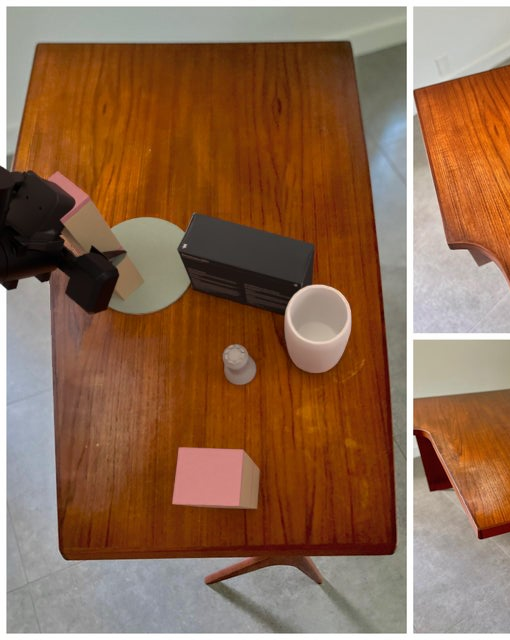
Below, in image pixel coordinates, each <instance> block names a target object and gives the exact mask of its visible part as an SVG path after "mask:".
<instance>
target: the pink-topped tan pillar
mask: <svg viewBox="0 0 510 640" xmlns="http://www.w3.org/2000/svg"><path fill="white" fill-rule="evenodd" d="M46 180H49V181H52V182H54V183H56V184H57V185H58V186H60V187H61V188H62V189H63V190H65V191H66V192H67V193H68V194H70V195H71V196H72V197H73V198H74V199H75V201H76V204H75V206H74V208H73V209H72V210H71V211H70V212H69V213H67V214H66V215H65V216H64V217H63V218H62V219H60V221H61V222H62V223H63V224H64V226H65V228H64V229H63V231H62V232H61V233H62V235H61V236H63V237H64V239H66V241H67V242H68V244H70V246H71V247H72V248H73V249H74V250H75V251H76V253H77V254H78V256H80V255H83V254H86V253H89V252H90V249H91V246H92V245H93V246H94V247H95V248H97V249H98V250H99V251H100V252H106V251H114V250H124V249H123V247H122V246H121V244H120V243H119V241H118V240H117V238H116V237H115V235H114V234H113V232H112V231H111V228H110V226H109V224H108V222H107V221H106V220H105V218H104V217H103V215H102V213H101V212H100V211H99V209H98V207H97V206H96V205H95V203H94V202H93V200H92V198H91V196H90V195H88V193H86V192H85V191H84V190H82V189H81V188H80V187H79V186H77V185H76V184H75V183H74V182H73V181H71V180H70V179H69V178H67V177H66V176H64V174H62V173H61V172H60V171H59V170H57V171H55V172H54V173H53V174H52V175H50V177H48V178H47V179H46ZM116 268H118V272H119V275H120V276H119V278H118V281H117V284H116V286H115V289H114V292H115V293H116V294H118V295H119V296H120V297H121V298H122V299H124V300H126V299H127V298H128V297H129V296H130V295H131V294H132V293H133V292H134V291H135V290H136V289H137V288H139V287H140V286H141V285H142V284H143V283H144V282H145V281H144V280H143V278H142V276H141V275H140V273H139V272H138V270H137V269H136V267H135V266H134V264H133V263H132V261H131V260H130V258H129V257H128V255H127V254H126V256H125V258H124V259H123V260H122V261H121V262H120V263H119V264H118V265H117V266H116Z"/></svg>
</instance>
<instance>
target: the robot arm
mask: <svg viewBox="0 0 510 640" xmlns="http://www.w3.org/2000/svg"><path fill="white" fill-rule="evenodd" d="M75 204H76V201H75V199H74V198H73V197H72V196H71V195H70V194H68V193H67V192H66V191H65V190H63V189H62V188H61V187H60V186H58V185H57V184H56V183H54V182H52V181H49V180H47V179H46V178H43V177H41V176H40V175H38V173H36V172H35V171H34V170H32V169H29V170H27V171H25V170H24V171H23V172H22V171H18V170H15V171H10V170H9V169H7V168H5V167H3V165H0V285H1V286H2V287H3V288H4V289H5V290H6V291H8V292H9V291H13V290H17V289H18V285H19V281H20V280H24V279H25V280H26V279H28V278H33V277H34V278H35V279H36V280H38V281H39V282H40V283H41V284H43V283H47V282H50V279H51V276H52V273H53V272H56V271H57V270H60V271H61V273H63V274H65V275H66V276H67V277H68V278H69V279H68V282H67V284H66V288H65V291H64V294H65V295H66V296H67V297H68V298H69V299H70V300H72V301H73V302H74V303H75V304H76V305H77V306H78V307H79V308H81V309H82V310H83V311H84V312H86V314H88V315H89V316H90V315H95V314H100V313H102V312H106V311H107V310H108V308H109V307H108V305H109V302H110V300H111V297H112V294H113V292H114V289H115V286H116V284H117V281H118V278H119V276H120V275H119V272H118V268H116V266H117V265H118V264H119V263H120V262H121V261H122V260H123V259H124V258H125V256H126V254H127V251H125V250H114V251H106V252H100V251H99V250H98V249H97V248H95V247H94V246H93V245H92V246H91V249H90V252H89V253H86V254H83V255H77V254H75V252H74V251H72V250H71V249H70V248H69V247H67V246H66V245H65V241H66V240H65V238H63V237H61V236H63V235H62V233H61V232H62V231H63V229H64V228H65V226H64V224H63V223H62V222H61V221H60V219H62V218H63V217H64V216H65V215H66V214H67V213H69V212H70V211H71V210H72V209H73V208H74V206H75Z"/></svg>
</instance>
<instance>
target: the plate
mask: <svg viewBox="0 0 510 640" xmlns="http://www.w3.org/2000/svg"><path fill="white" fill-rule="evenodd" d="M110 229H111V231H112V232H113V234H114V235H115V237H116V238H117V240H118V241H119V243H120V244H121V246H122V247H123V249H124V250H125V251H127V255H128V257H129V258H130V260H131V261H132V263H133V264H134V266H135V267H136V269H137V270H138V272H139V273H140V275H141V276H142V278H143V280H144V281H145V282H144V283H143V284H142V285H141V286H140V287H139V288H137V289H136V290H135V291H134V292H133V293H132V294H131V295H130V296H129V297H128V298H127V299H126V300H124V299H122V298H121V297H120V296H119V295H118V294H116V293H115V292H113V294H112V297H111V300H110V302H109V305H108V308H110V309H111V310H113V311H116V312H118V313H121V314H125V315H133V316H143V315H149V314H154V313H157V312H160V311H162V310H164V309H166V308H169V307H170V306H172V305H173V304H175V303H176V302H177V301H179V300H180V299H181V298H182V297H183V296H184V295H185V294H186V292H187V291H188V290H189V288H190V286H192V284H191V282H190V279H189V277H188V274H187V272H186V269H185V267H184V264H183V262H182V260H181V257H180V255H179V253H178V251H177V248H178V246H179V244H180V242H181V240H182V238H183V236H184V234H185V231H184V230H183V229H182V228H180V227H179V226H178V225H177V224H174V223H172V222H170V221H168V220H165V219H163V218H158V217H153V216H152V217H151V216H150V217H149V216H143V217H142V216H141V217H135V218H131V219H127V220H124V221H122V222H119V223H117V224H116V225H114V226H112V227H111V228H110Z"/></svg>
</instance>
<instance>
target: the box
mask: <svg viewBox="0 0 510 640" xmlns="http://www.w3.org/2000/svg"><path fill="white" fill-rule="evenodd" d="M184 233H185V234H184V236H183V238H182V240H181V242H180V244H179V246H178V248H177V251H178V253H179V255H180V257H181V260H182V262H183V264H184V267H185V269H186V272H187V274H188V277H189V279H190V282H191V287H192V290H194V291H197V292H199V293H203V294H207V295H210V296H215V297H218V298H222V299H224V300H225V299H226V300H229V301H232V302H236V303H240V304H243V305H246V306H250V307H254V308H257V309H261V310H265V311H268V312H272V313H276V314H280V315H283V316H285V312H286V308H287V305H288V303H289V301H290V299H291V298H292V297H293V295H294V294H295V293H297V292H298V291H299V290H300V289H302V288H304V287H306V286H310V285H314V284H313V282H314V265H315V249H316V244H315V243H312V242H308V241H304V240H300V239H296V238H293V237H288V236H285V235H281V234H277V233H273V232H271V231H266V230H263V229H259V228H255V227H251V226H248V225H243V224H240V223H237V222H232V221H229V220H226V219H225V220H224V219H221V218H217V217H213V216H211V215H210V216H209V215H206V214H202V213H198V212H193V213H192V215H191V217H190V220H189V222H188V225H187V228H186V230H185V231H184Z"/></svg>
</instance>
